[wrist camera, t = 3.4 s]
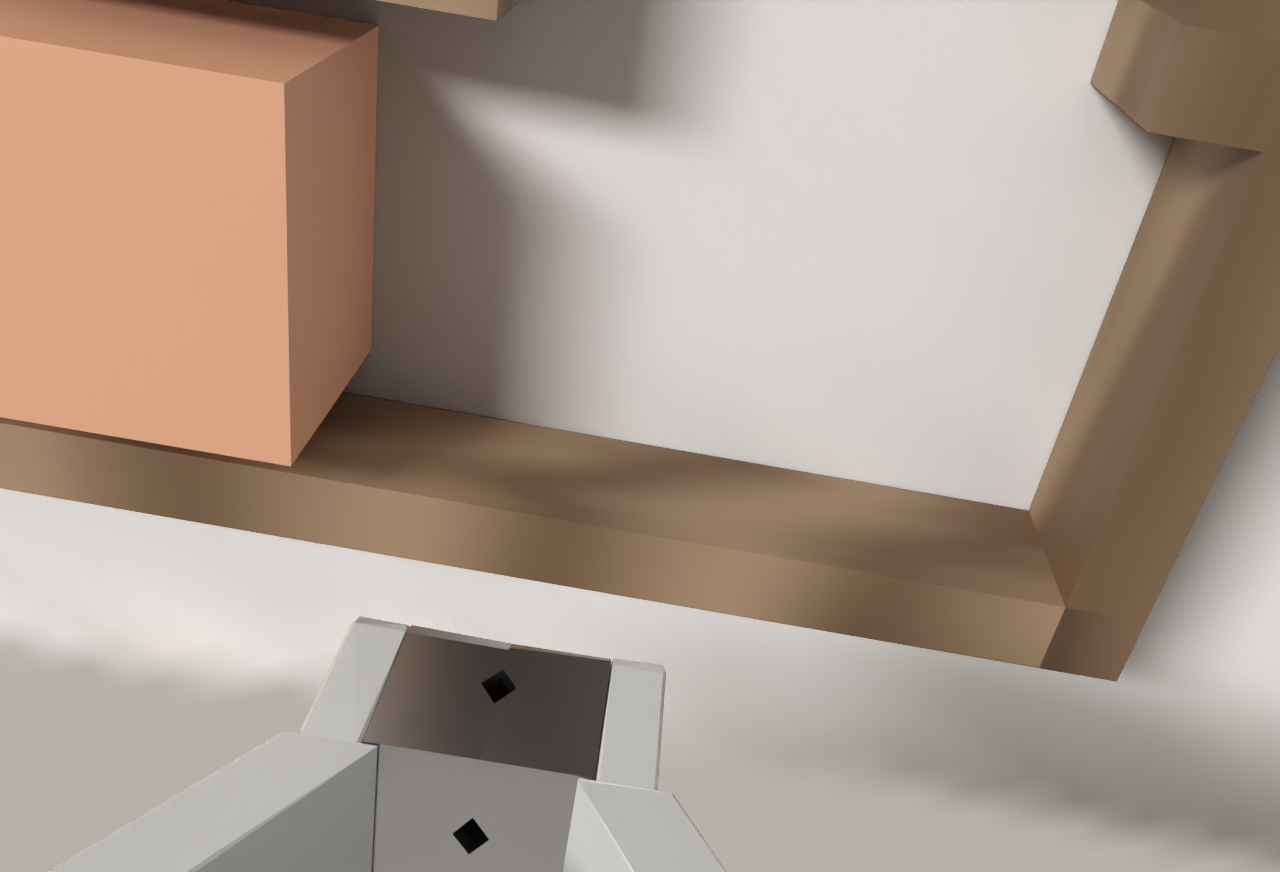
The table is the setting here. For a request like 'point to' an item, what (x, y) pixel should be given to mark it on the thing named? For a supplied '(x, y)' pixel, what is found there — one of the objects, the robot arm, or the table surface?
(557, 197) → the table surface
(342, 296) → the terracotta block
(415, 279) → the table surface
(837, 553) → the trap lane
